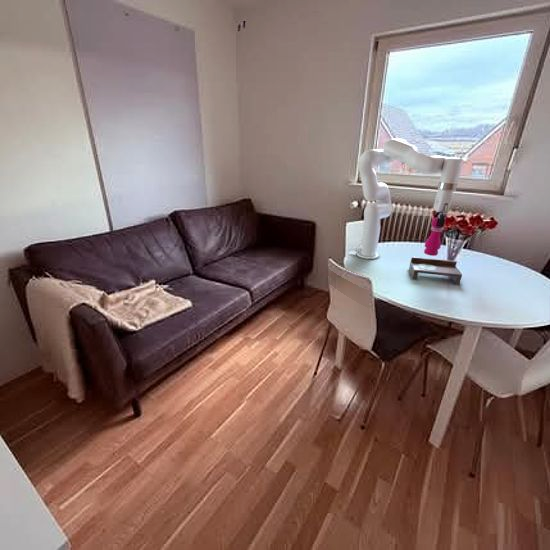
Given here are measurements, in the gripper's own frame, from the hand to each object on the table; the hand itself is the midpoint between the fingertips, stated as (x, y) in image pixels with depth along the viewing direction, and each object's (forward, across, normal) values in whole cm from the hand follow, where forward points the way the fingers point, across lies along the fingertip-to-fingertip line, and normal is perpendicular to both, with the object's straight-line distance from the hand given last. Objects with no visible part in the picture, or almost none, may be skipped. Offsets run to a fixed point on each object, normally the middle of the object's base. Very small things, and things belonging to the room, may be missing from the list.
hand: (437, 224), depth 149 cm
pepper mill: (+15, 0, 0) cm, 15 cm away
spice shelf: (+28, -1, +4) cm, 28 cm away
